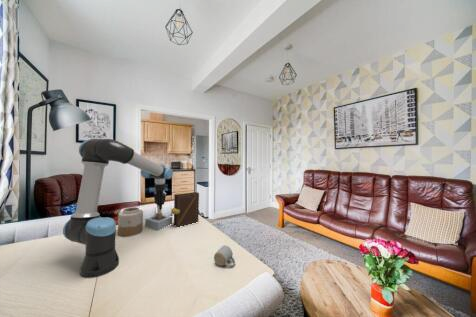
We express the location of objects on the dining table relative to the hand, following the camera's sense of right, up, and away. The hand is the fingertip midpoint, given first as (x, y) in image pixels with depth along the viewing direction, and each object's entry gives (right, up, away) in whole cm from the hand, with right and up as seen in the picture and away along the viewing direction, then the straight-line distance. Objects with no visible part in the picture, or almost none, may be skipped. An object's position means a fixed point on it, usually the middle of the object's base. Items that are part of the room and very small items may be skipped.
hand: (159, 213), depth 142 cm
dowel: (0, -7, 0) cm, 7 cm away
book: (+19, -11, +4) cm, 22 cm away
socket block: (0, -10, 0) cm, 10 cm away
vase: (-15, -10, -13) cm, 22 cm away
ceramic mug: (+56, -13, -47) cm, 74 cm away
